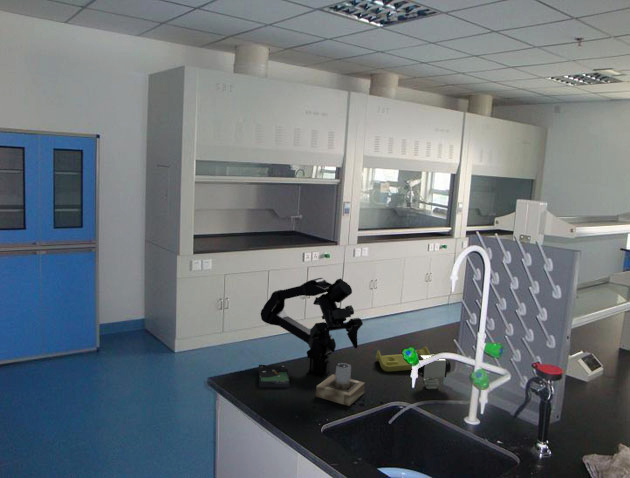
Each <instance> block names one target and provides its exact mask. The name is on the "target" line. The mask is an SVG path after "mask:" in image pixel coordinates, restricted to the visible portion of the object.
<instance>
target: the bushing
mask: <svg viewBox="0 0 630 478" xmlns="http://www.w3.org/2000/svg"><path fill="white" fill-rule="evenodd" d="M351 373H352V365H351V364H349V363H345V362H339V363H336V364H335V374H334V375H335V387H336V388H340V389H343V390H347V391H348V390H349V389H350V379H351V378H352V377H351V376H352V375H351Z"/></svg>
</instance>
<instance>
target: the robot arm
mask: <svg viewBox="0 0 630 478" xmlns="http://www.w3.org/2000/svg"><path fill="white" fill-rule="evenodd" d="M352 293H353V290H352V286H351V285H350V284H349V283H348V282H346V281H344V280H343V278H337V279H336V280H335V281H334V282H333V283H330V282H328V281H327V280H326V279H325V278H324V277H319V278H314V279H310V280H308V281H306V282H304V283H303V284H300V285H298V286H294V287H289V288H285V289H278V290H275V291H273V292H272V293H271V295H270V297H269V299H268V300H267V301H266V303H265V304H264V305H263V308H262V309H261V310H260V318H261V321H263V322H264V323H266V324H269V325H271V326H279V327H280V328H282V329H284V330H285V331H287V333H288V332H289V333H290V334H292V335H293V336H295V337H296V338H298V339H299V340H301V341H303V342H305V343H306V344H307V345H308V348H309V349H308V350H307V351H306V356H307V358H308V359H309V364H308V365H309V368H308V370H307V371H306V373H307V374H310V375H313V376H316V377H317V376H318V377H321V378H323V377H325V376H326V375H328V374H329V373H331V369H330V367H331V366H330V365H331V364H330V363H331V362H330V356H331V355H332V353H335V352H336V346H337V343H336V341H335V338H334V337H333V336H332V334H330V332H331V331H339V330H345V332H347V333H346V335H347V336H348V339H349V340H350V342H351V344H352V346H353V347H354V349H358V348H359V347H358V332H359V330H360V329H361V327H362V326H363V325H364V323H363V321H362V319H361V318H360V317H355V318H351V317H352V315H354V314H355V309H354V307H353V306H352V305H347V306H344V308H341V307H340V306H339V307H338V304H339V303H342V302H343V301H344V300H345V299H346V298H348V297H349V296H350V295H351V294H352ZM319 295H320V296H319ZM300 296H305V297H315V299H314V300H313V305H315V306H319V308H320V310H321V314H322V316H321V318H322V320H324V321H322V322H316V323H314V325H313V326H312V327H311V329H310V328H308V327H307V326H305V325H303V324H301V323H300V322H298V321H297V320H295V319H293V318H292V317H290V316H288V315H287V313H286V311H285V310H284V308H285V307H286V305H285V301H286V300H287V299H291V298H295V297H296V298H297V297H300ZM318 296H319V297H318ZM337 303H338V304H337ZM348 318H350V319H349V320H348V321H347V319H348ZM346 321H347V322H346Z"/></svg>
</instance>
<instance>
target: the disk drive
mask: <svg viewBox="0 0 630 478" xmlns="http://www.w3.org/2000/svg"><path fill="white" fill-rule="evenodd" d="M257 372H258V386H259V388H290V376H289V370H288V366H287V364H269V365H266V364H258V371H257Z"/></svg>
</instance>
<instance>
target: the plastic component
mask: <svg viewBox="0 0 630 478" xmlns="http://www.w3.org/2000/svg"><path fill="white" fill-rule="evenodd" d="M415 351H416V352H417V354H418V357H419V355H431V352H430V351H429V347H428V346H423V347H422V348H420V349H416V350H415ZM402 354H403V353H400V354H388V355H382V354H381V350H376V354H375V360H376V361H377V362H379V365H380V368H381V369H382V370H383V371H384V372H400V371H411V365H410V364H408V363H407V362H406V361H405V360H404V359H403V355H402Z"/></svg>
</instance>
